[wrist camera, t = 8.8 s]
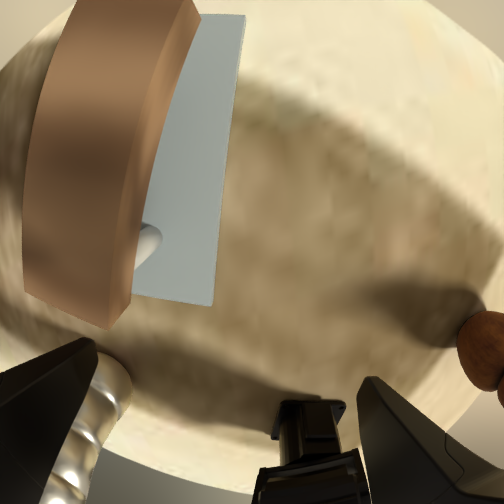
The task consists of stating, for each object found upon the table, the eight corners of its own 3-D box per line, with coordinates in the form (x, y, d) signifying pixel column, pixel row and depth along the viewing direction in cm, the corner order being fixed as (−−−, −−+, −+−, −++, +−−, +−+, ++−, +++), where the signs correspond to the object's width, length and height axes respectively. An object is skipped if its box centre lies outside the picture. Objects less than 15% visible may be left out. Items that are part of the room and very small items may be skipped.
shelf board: (130, 303, 16) (108, 330, 13) (52, 271, 15) (24, 291, 12) (201, 19, 10) (187, -9, 8) (105, 16, 10) (78, -2, 7)
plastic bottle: (131, 349, 23) (31, 544, 4) (145, 399, 25) (81, 566, 6) (75, 337, 23) (-37, 490, 4) (92, 386, 25) (15, 528, 6)
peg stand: (213, 299, 21) (200, 339, 16) (75, 275, 21) (41, 302, 16) (246, 21, 14) (241, -16, 10) (92, 33, 14) (56, 13, 10)
